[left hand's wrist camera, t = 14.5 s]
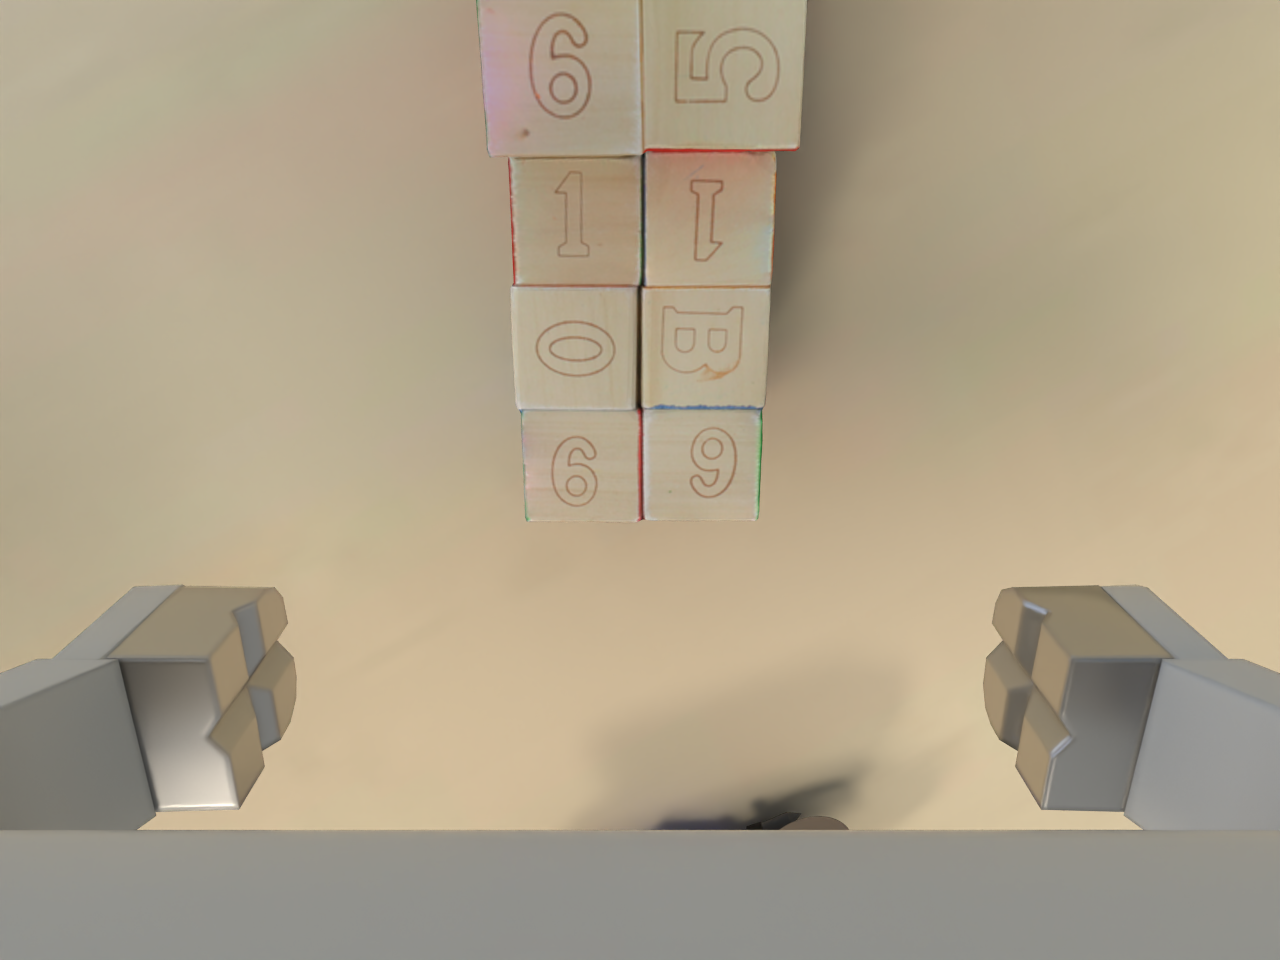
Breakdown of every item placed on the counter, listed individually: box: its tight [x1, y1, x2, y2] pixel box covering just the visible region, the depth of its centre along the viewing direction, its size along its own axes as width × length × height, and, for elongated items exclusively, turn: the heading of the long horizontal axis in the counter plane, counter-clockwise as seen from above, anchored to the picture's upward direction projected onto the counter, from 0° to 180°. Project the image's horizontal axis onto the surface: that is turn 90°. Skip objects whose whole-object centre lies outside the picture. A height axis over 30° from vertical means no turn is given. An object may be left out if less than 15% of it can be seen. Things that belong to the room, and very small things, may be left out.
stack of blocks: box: [476, 0, 807, 523], centre depth 22 cm, size 21×6×12 cm, turn 0°
